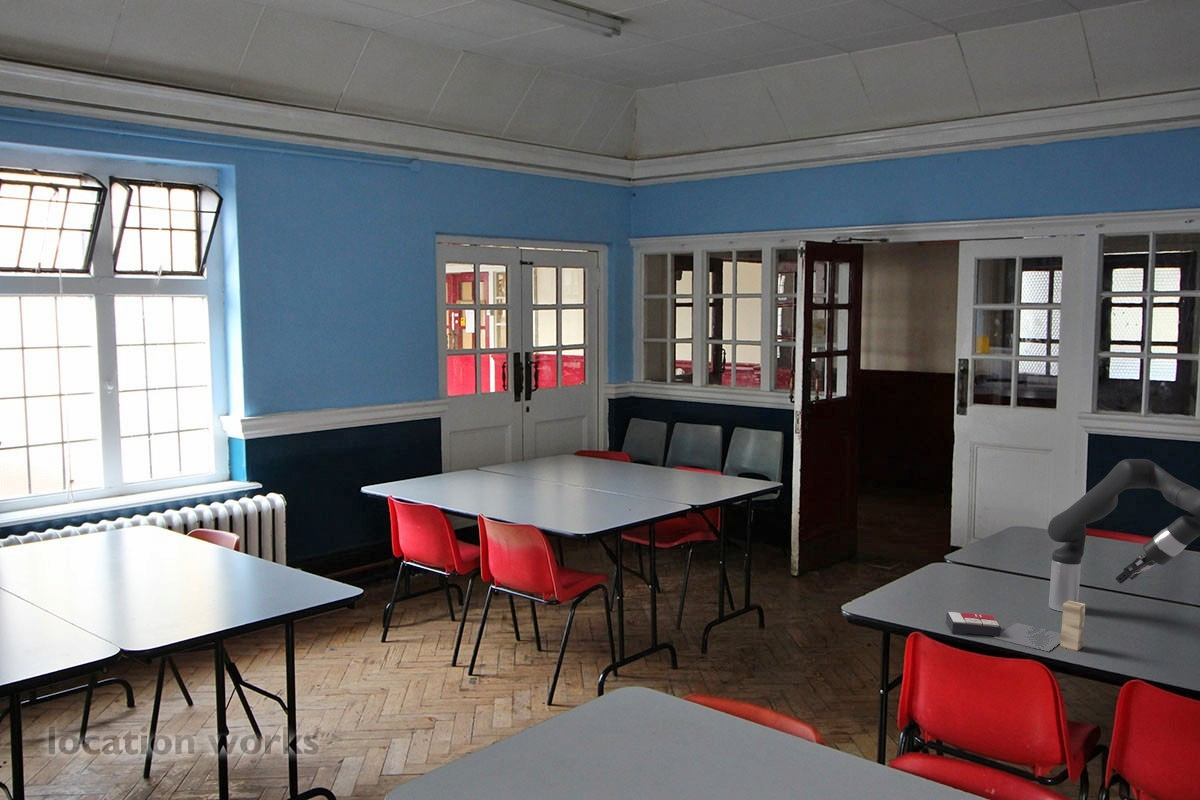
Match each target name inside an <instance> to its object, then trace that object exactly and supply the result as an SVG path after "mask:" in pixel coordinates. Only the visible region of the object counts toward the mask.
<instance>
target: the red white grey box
mask: <svg viewBox="0 0 1200 800" xmlns="http://www.w3.org/2000/svg"><path fill="white" fill-rule="evenodd" d="M945 624H946V625H947V627H948V629H949V630H950V632H951V633H952V634H957V635H965V634H974V635H975V634H976V635H984V636H993V637H995V636H1000V633H1001V631H1002V630H1001V629H1002V628H1001V625H999V623H998V622H997V620H996V619H995V617H994V616H993V615H989V614H979V613H970V612H955V611H954V612H953V611H948V612H946V619H945Z"/></svg>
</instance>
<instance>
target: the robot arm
mask: <svg viewBox="0 0 1200 800" xmlns="http://www.w3.org/2000/svg"><path fill="white" fill-rule="evenodd" d="M1129 489H1153V490H1157V491H1159V492H1161V493H1162V495H1163V498H1164V499H1165V500H1166V501H1168V503H1170V504H1172V505H1173V506H1176V507H1178V508H1179V509H1181V510H1183V511H1187V512H1188V513H1190V514H1191V515H1193V516H1188V515H1182V516H1178V517H1177V518H1176V519H1175V520H1174V521H1172V523H1170V524H1169V525H1168V526H1167V527H1165V528H1164V529H1161V530H1160V531H1159V532H1158V533H1156V535H1154V536H1153V537H1152V538H1151V539H1149V540H1148V541H1147V542H1146V543H1145V544H1143V546H1142V548H1143V551H1144V554H1140V555H1139V556H1138V557H1136V559H1134V560H1133V561H1132V562H1130V564H1129V565H1127V566H1126V567H1124V568H1123V571H1122V572H1121V573H1119V574H1118V575H1117V576H1116V577H1115V580H1116V582H1117V583H1118V584H1121V585H1122V584H1124V582H1126V581H1128V580H1129V579H1130V580H1134V579H1136V578H1137V577H1139V575H1141V574H1142V573H1145V572H1146V571H1149V570H1150V569H1151V568H1152V567H1154V566H1155V565H1156V564H1158V565H1159V566H1165V565H1167V563H1168V562H1170V561H1171V560H1172V559H1174V558H1175V557H1176V556H1178V555H1179V554H1180V553H1181V552H1182V551H1184V549H1185V548H1186V547H1188V546H1189V545H1190V544H1191V543H1192V542H1194V541H1195V540H1196V539H1197V538H1199V537H1200V490H1199V489H1197V488H1196V487H1194V486H1191V485H1189V484H1188V483H1185V482H1183V481H1181V480H1180V479H1178V478H1175V476H1173V475H1171V474H1170V473H1169V472H1167V471H1166V470H1165V469H1164V468H1162V467H1161V466H1160V465H1158V464H1157V463H1155V462H1154V461H1152V460H1150V459H1145V458H1125V459H1123V460H1120V461H1119V462H1118V463H1117V464H1116V465H1115V466H1114V467H1113V468H1112V469H1111V471H1109V473H1107V475H1106V476H1105V477H1104V478H1103V479H1102V480H1101V481H1099V482H1098V483H1096V485H1095V486H1094V487H1092V488H1091V489H1090V490H1089V491H1087V492H1086V493H1085V494H1084V495H1083V496H1082V497H1080V498H1079V499H1078V500H1077V501H1076V502H1074V503H1073V504H1072V505H1071V506H1069V507H1068V508H1066V509H1065V510H1064V511H1062V512H1060V513H1058V514H1057V515H1055V516H1054V517H1052V518H1051V520H1050V521H1049V523H1048V526H1047V534H1048V536H1049V538H1050V539H1051V540H1052V541H1053V542H1057V543H1062V544H1063V543H1064V544H1063V545H1062V546H1061V547H1059V548H1057V549H1056V550H1054V551H1052V555H1051V568H1050V569H1051V570H1050V583H1049V597H1048V598H1049V599H1048V608H1050V609H1051V610H1054V611H1056V612H1062V613H1063V604H1064V603H1065V602H1067V601H1068V600H1069V601H1074V602H1079V596H1080V593H1079V591H1080V581H1081V566H1082V558H1083V556H1084V552H1085V544H1086V539H1087V538H1086V536H1087V525H1088V524H1091V523H1094V522H1096V521H1100V520H1102V519H1103V518H1106V516H1108V515H1109V514H1110V513H1111V512H1113V511H1114V510H1115V509H1116V507H1117V506H1118V503H1119V496H1118V495H1120V494H1121V493H1122V492H1124V491H1125V490H1129ZM1130 569H1131V570H1130Z"/></svg>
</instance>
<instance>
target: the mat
mask: <svg viewBox="0 0 1200 800" xmlns="http://www.w3.org/2000/svg"><path fill="white" fill-rule="evenodd" d="M1032 627H1033V628H1034V627H1035V626H1032V625H1030V624H1023V623H1019V622H1015V623H1014V624H1012V625H1011V626H1009V627H1007V628H1006V629H1004V630H1003V631H1002V632H1000V636H993V639H994V640H998V639H999V641H1002V640H1003V642H1006V643H1009V644H1014V643H1015V644H1014V645H1018V644H1019V645H1018V646H1023V647H1026V646H1027V648H1029V647H1031V648H1030V649H1033V648H1036V649H1035V650H1037V649H1039V648H1038V646H1036V645H1035V643H1034V642H1033V643H1034V644H1032V642H1031V641H1037V640H1029V639H1033V638H1027V637H1028V636H1029V637H1030V636H1031V635H1032V636H1033V635H1034V634H1035V635H1036V633H1037V634H1039V632H1040V633H1041V631H1042V632H1043V630H1044V631H1045V630H1046V629H1045V628H1041V630H1040V631H1039V632H1036V633H1033V634H1031V635H1030V634H1027V633H1028V630H1029V631H1031V630H1032V631H1033V629H1032ZM1030 628H1031V629H1030ZM1034 629H1035V628H1034ZM1048 630H1049V629H1048ZM1026 632H1027V633H1026ZM1049 634H1050V635H1049ZM1046 635H1049V637H1048V638H1050V639H1049V642H1047V641H1048V640H1047V641H1046V642H1047V643H1048V644H1046V643H1044V644H1046V646H1045V645H1043V646H1044V648H1043V647H1041V646H1039V647H1040V648H1041V650H1044V651H1043V652H1045V651H1048V652H1047V653H1050V652H1051V651H1052V650H1054V649H1055V648H1057V647H1058V646H1059V645H1060V643H1061V632H1057V631H1053V630H1049V631H1048V632H1046V633H1045V636H1046ZM1025 636H1026V637H1025ZM1054 636H1055V637H1054ZM1051 637H1053V638H1051ZM1048 638H1047V639H1048ZM1034 639H1035V638H1034ZM1051 640H1052V641H1051ZM1043 642H1045V641H1043ZM1058 644H1059V645H1058ZM1057 645H1058V646H1057ZM1054 647H1055V648H1054ZM1053 648H1054V649H1053ZM1041 650H1040V651H1041ZM1050 650H1051V651H1050ZM1049 651H1050V652H1049Z"/></svg>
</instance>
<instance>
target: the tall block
mask: <svg viewBox="0 0 1200 800" xmlns="http://www.w3.org/2000/svg"><path fill="white" fill-rule="evenodd" d="M1085 615H1086V603H1082V602H1079V601H1078V602H1074V601H1069V600H1068V601H1067V602H1065V603H1064V604H1063V612H1062V617H1061V630H1060V633H1061V643H1060V644H1059V646H1060V648H1062V647H1063V649H1066V648H1067V650H1070V649H1071V651H1074V652H1078V651H1080V649H1081V648H1083V642H1084V641H1083V640H1084V630H1085V629H1084V628H1085V627H1084V626H1085Z"/></svg>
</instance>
